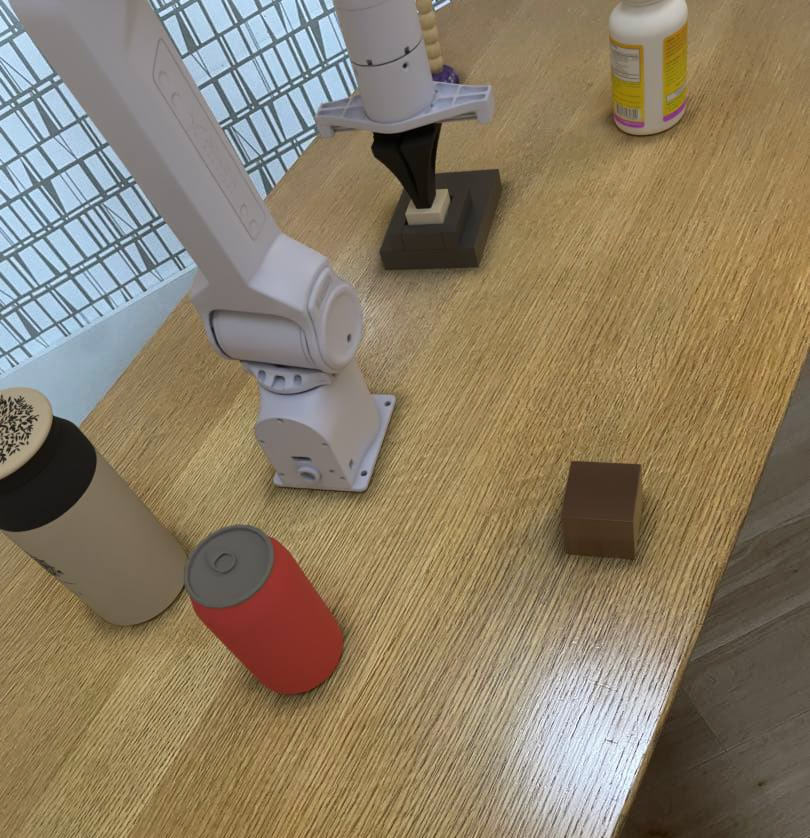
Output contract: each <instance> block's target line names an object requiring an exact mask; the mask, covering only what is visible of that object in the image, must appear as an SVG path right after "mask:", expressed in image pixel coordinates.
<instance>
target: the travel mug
mask: <svg viewBox="0 0 810 838" xmlns="http://www.w3.org/2000/svg"><path fill="white" fill-rule="evenodd" d="M0 532H1V533H2V534H3V535H4V536H5V537H6V538H8V539H9V540H10V541H11V542H13V544H15V545H16V546H17V547H18V548H20V549H21V550H22V551H23V552H24V553H25V554H26V555H28V556H29V557H30V558H31V559H32V560H33V561H34V562H36V563H37V564H38V565H40V567H41V568H43V569H44V570H45V571H47V573H48V574H49V575H51V576H52V577H54V578H55V579H56V580H57V581H58V582H59V583H61V584H62V585H63V586H64V587H65V588H66V589H67V590H68V591H70V592H71V593H72V594H73V595H75V596H76V597H77V598H78V599H79V600H80V601H82V602H83V603H84V604H85V605H86V606H87V607H89V608H90V610H92V611H93V612H94V613H96V614H97V615H98V616H99V617H100V618H101V619H103V620H104V621H106V622H107V623H109V624H112V625H116V626H133V625H134V626H135V625H138V624H142V623H145V622H147V621H149V620H151V619H154V618H155V617H157V616H158V615H160V614H161V613H162V612H164V611H165V610H166V609H167V608H168V607H169V606H170V605H172V603H173V602H174V601H175V599H176V598H177V597H178V595H179V594H180V592H181V591H182V590H183V587H184V586H185V585H184V581H183V580H184V568H185V565H186V563H187V560H188V556H187V553H186V551H185V549H184V547H183V546H182V545H181V544H180V542H178V540H177V539H176V538H175V536H173V534H172V533H171V532H170V531H169V530H168V529H167V528H166V527H165V525H164V524H163V523H162V522H161V521H160V520H159V519H158V518H157V516H156V514H154V513H153V511H152V510H150V508H149V507H148V506H147V505H146V504H145V503H144V501H143V500H142V499H141V498H140V497H139V495H138V494H137V493H136V492H135V491H134V490H133V488H131V486H130V485H129V484H128V482H126V481H125V479H124V478H123V477H122V476H121V475H120V474H119V472H118V471H117V470H116V469H115V468H114V467H113V466H112V464H110V462H109V461H108V460H107V459H106V458H105V456H104V455H103V454H102V453H101V452H100V451H99V449H97V448H96V446H95V445H94V444H93V443H92V442H91V441H90V439H89V438H88V437H87V436H86V435H85V434H84V433H83V431H82V430H81V429H80V428H79V427H78V426H77V425H76V424H75V423H73V422H72V421H71V420H69V419H66V418H62V417H60V416H57V415H54V414H53V407H52V404H51V402H50V401H49V399H48V397H47V396H46V395H45V394H44V393H42V392H41V391H39V390H37V389H34V388H30V387H24V386H18V387H17V386H15V387H9V388H4V389H0Z"/></svg>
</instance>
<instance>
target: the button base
mask: <svg viewBox="0 0 810 838" xmlns="http://www.w3.org/2000/svg"><path fill="white" fill-rule="evenodd" d="M435 187H436V190H438V189H448V193H449V197H450V201H451V205H450V208H449V211H448V213H447V216H446V219H445V222H444V224H443V223H442V224H422V225H408V222H407V218H406V215H405V213H406V211H407V208H408V206H409V203H410V200H411V198H410V196H409V195H408V193H407V192H406V190H405V189H404V187H403V189H402V191H401V194H400V195H399V199H398V201H397V203H396V206H395V208H394V211H393V214H392V217H391V219H390V222H389V224H388V227H387V228H386V229H387V230H386V232H385V235H384V237H383V240H382V243H381V245H380V248H379V251H378V253H379V256H380V259H381V262H382V264H383V268H384V271H404V270H405V271H407V270H438V269H439V270H441V269H471V268H479V267H480V264H481V261H482V257H483V254H484V250H485V247H486V244H487V241H488V238H489V235H490V232H491V227H492V224H493V221H494V217H495V214H496V210H497V209H498V204H499V201H500V198H501V194H502V190H503V185H502V180H501V174H500V169H499V168H489V169H477V170H461V171H448V172H435Z"/></svg>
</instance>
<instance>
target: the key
mask: <svg viewBox="0 0 810 838" xmlns="http://www.w3.org/2000/svg"><path fill="white" fill-rule="evenodd" d="M450 205H451V201H450V197H449V193H448V189H438V190H436V196H435V199H434V202H433V205H432V207H431V208H430V209H416V207H415V205H414V203H413V202H412V200H410V203H409V206H408V208H407V211H406V213H405V215H406V218H407V222H408V225H422V224H442V223H443V224H444V222H445V219H446V216H447V213H448V211H449V208H450Z"/></svg>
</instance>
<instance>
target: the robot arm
mask: <svg viewBox="0 0 810 838" xmlns="http://www.w3.org/2000/svg"><path fill="white" fill-rule="evenodd" d="M331 1H332V4H333V8H334V11H335V15H336V19H337V21H338V25H339V28H340V32H341V36H342V38H343V42H344V46H345V48H346V52H347V54H348V55H347V56H348V59H349V62H350V65H351V68H352V72H353V75H354V78H355V82H356V85H357V90H358V92H359V93H357V94H354V95H351V96H348V97H344V98H341V99H337V100H332V101H327V102H326V101H325V102H321V103H320V105H319V107H318V109H317V111H316V113H315V114H314V121H315V123H316V126H317V130H318V132H319V135H320V138H321V139H330V138H333V137H334V136H335V134H336V133H345V132H348V133H349V132H357V131H365V132H366V131H367V132H372V135H373V136H372V139H373V141H372V143H371V147H370V150H371V153H372V155H373V157H374V158H375V159H376V160H377V161H379V162H380V163H381V164H383V165H384V166H385V167H386V168H387V169H388V171H390V172H391V173H392V174H393V176H394V177H395V178H396V179H397V181H398V182H399V183H400V184H401V186H402V187H403V188H404V189H405V190H406V192H407V193H408V195H409V196H410V198H411V200H412V202H413V203H414V205H415V207H416V209H430V208H431V207H432V205H433V202H434V199H435V196H436V187H435V173H436V165H437V164H436V163H437V154H438V146H439V141H440V136H441V130H442V126H443V124H444V123H454V122H455V123H456V122H465V121H477V124H478V125H485V124H486V125H487V124H491V123H492V120H493V118H494V114H495V111H496V103H495V98H494V97H495V96H494V92H493V85H491V84H489V85H469V84H461V83H459V84H453V83H445V82H436V81H433V79H432V75H431V70H430V66H429V61H428V57H427V52H426V48H425V43H424V39H423V34H422V27H421V25H420V21H419V12H418V10H417V7H416V2H415V0H331ZM7 2H8V4H9V6H10V8H11V10H12V11H13V13H14V14H15V16H16V18H17V19H18V21H19V23H20V25H21V26H22V28H23V29H24V30H25V32H26V33H27V35H28V36H29V37H30V39H31V40H32V41H33V43H34V44H35V46H36V47H37V48H38V49H39V51H40V52H41V54H42V55H43V56H44V58H45V59H46V61H47V62H48V63H49V64H50V66H51V67H52V69H53V70H54V72H55V73H56V74H57V75H58V77H59V79H60V80H61V81H62V82H63V84H64V85H65V86H66V88H67V89H68V90H69V92H70V93H71V95H72V96H73V97H74V99H75V100H76V101H77V103H78V104H79V106H80V107H81V109H82V110H83V111H84V112H85V114H86V115H87V117H88V118H89V119H90V121H91V123H93V125H94V126H95V127H96V130H98V132H99V133H100V134H101V136H102V137H103V138H104V140H105V141H106V143H107V144H108V146H109V147H110V148H111V150H112V151H113V152H114V154H115V155H116V156H117V158H118V159H119V161H120V162H121V163H122V164H123V166H124V168H125V169H126V170H127V172H128V173H129V174H130V175H131V177H132V178H133V180H134V181H135V182H136V184H137V185H138V187H139V188H140V189H141V191H142V192H143V194H145V196H146V198H147V199H148V201H150V204H152V206H153V208H154V209H155V210H156V211H157V213H158V214H159V215H160V217H161V218H162V219H163V221H164V222H165V224H166V225H167V226H168V228H169V229H170V231H171V232H172V234H173V235H174V236H175V238H176V239H177V240H178V242H179V243H180V244H181V246H182V247H183V248H184V250H185V251H186V253H187V254H188V256H189V257H190V258H191V259H192V261H193V262H194V263H195V265H196V267H198V268H197V271H196V273H195V276H194V277H193V281H192V284H191V290H190V294H189V302H190V303H191V304H192V306H193V307H194V308H195V310H196V311H197V313H198V314H199V316H200V320H201V321H202V324H203V328H204V332H205V335H206V338H207V340H208V343H209V345H210V347H211V348H212V349H213V351H214V352H215V353H216V355H218V356H219V357H221V358H222V359H225V360H228V361H239V363H240V365H241V366H242V368H243V370H244V372H245V374H247V375H248V374H249V375H251V376H253V377H254V378H255V379H256V382H257V386H258V391H259V407H258V415H257V418H256V422H255V425H254V437H255V439H256V443H258V445H259V447H260V448H261V450H262V452H263V453H264V455H265V456H266V458H267V460H268V461H269V463H270V464H271V466H272V468H273V469H274V472H275V474H274V476H273V478H272V479H273V480H272V482H273V484H274V485H275V486H276V487H281V488H284V487H285V488H294V489H295V488H296V489H309V490H311V489H312V490H325V491H340V492H341V491H342V492H354V493H355V492H357V493H358V492H359V493H362V492H365V491H366V490H367V489H368V487H369V484H370V481H371V478H372V477H373V476H372V475H373V472H374V469H375V466H376V463H377V460H378V457H379V454H380V451H381V448H382V445H383V442H384V440H385V436H386V433H387V430H388V427H389V424H390V421H391V418H392V415H393V413H394V410H395V406H396V403H397V399H396V396H395V395H394V394H385V393H384V394H383V393H381V394H379V393H371V392H370V389H369V386H368V385H367V382H366V380H365V378H364V375H363V372H362V370H361V367H360V365H359V363H358V360H357V357H356V354H357V352H358V350H359V347H360V344H361V341H362V337H363V330H364V315H363V308H362V303H361V300H360V297H359V295H358V293H357V291H356V289H355V287H354V285H353V284H352V283H351V281H350V280H349V279H347V278H345V277H343V276H342V275H341V276H340V275H339V273H337V272H336V271H335V270H334V268H333V266H332V264H331V262H330V261H329V259H328V257H326V256H325V255H324V254H322V253H320V252H319V251H317V250H315V249H313V248H311V247H309V246H307V245H306V244H304V243H302V242H300V241H298V240H296V239H294V238H293V237H291V236H289V235H288V234H285V233H284V232H283V231H282V230H281V229H280V227H279V225H278V224H277V222H276V220H275V218H274V216H273V215H272V213H271V212H270V209H269V208H268V206H267V204H266V202H265V201H264V199H263V198H262V196H261V194H260V192H259V190H258V188H257V186H256V185H255V184H254V182H253V180H252V178H251V177H250V175H249V173H248V171H247V169H246V168H245V166H244V165H243V163H242V161H241V160H240V158H239V156H238V154H237V152H236V151H235V149H234V147H233V146H232V144H231V142H230V140H229V138H228V137H227V135H226V133H225V132H224V130H223V127H221V124H220V123H219V121H218V119H217V118H216V116H215V114H214V112H213V111H212V109H211V107H210V106H209V104H208V102H207V100H206V99H205V97H204V95H203V93H202V92H201V90H200V88H199V87H198V84H197V83H196V81H195V79H194V78H193V76H192V74H191V73H190V71H189V69H188V67H187V66H186V64H185V62H184V61H183V59H182V57H181V56H180V54H179V52H178V50H177V48H176V47H175V45H174V43H173V42H172V40H171V38H170V36H169V34H168V33H167V31H166V28H164V26H163V24H162V22H161V20H160V19H159V17H158V15H157V14H156V12H155V10H154V9H153V7H152V5H151V3H150V1H149V0H7Z"/></svg>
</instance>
